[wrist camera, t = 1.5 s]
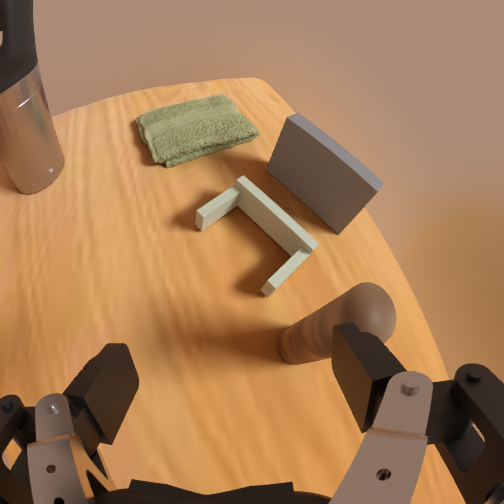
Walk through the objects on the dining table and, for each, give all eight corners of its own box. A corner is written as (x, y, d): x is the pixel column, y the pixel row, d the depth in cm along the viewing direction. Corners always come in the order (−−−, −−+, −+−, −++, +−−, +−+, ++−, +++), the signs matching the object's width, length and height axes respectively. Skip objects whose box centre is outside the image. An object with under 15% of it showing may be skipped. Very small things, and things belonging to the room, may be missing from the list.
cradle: (195, 224, 32) (197, 205, 29) (237, 195, 36) (243, 175, 32) (267, 297, 30) (278, 285, 27) (305, 259, 34) (319, 243, 30)
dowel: (268, 346, 28) (332, 314, 16) (294, 318, 30) (364, 270, 18) (297, 372, 27) (377, 359, 15) (321, 344, 30) (404, 311, 17)
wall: (265, 170, 39) (286, 117, 31) (276, 163, 40) (297, 112, 32) (338, 234, 37) (377, 191, 28) (346, 225, 38) (384, 183, 29)
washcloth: (132, 125, 39) (130, 110, 36) (224, 103, 46) (226, 89, 43) (157, 175, 35) (156, 159, 32) (261, 145, 43) (266, 130, 40)
